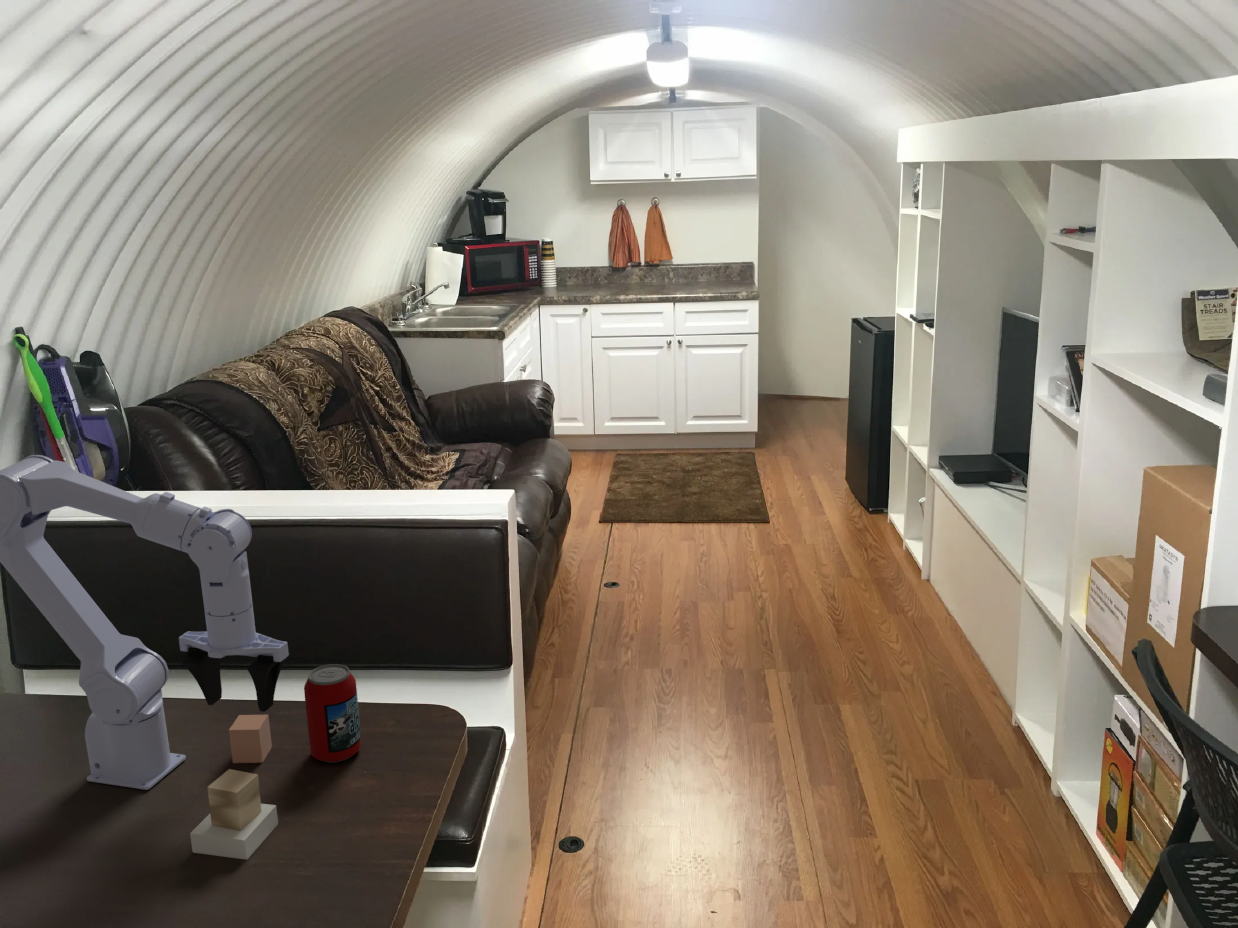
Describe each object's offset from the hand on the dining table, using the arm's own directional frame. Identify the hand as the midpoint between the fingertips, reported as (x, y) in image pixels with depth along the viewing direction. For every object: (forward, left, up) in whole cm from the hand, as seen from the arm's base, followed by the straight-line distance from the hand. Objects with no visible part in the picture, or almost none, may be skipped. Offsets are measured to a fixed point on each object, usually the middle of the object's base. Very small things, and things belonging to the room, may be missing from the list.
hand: (240, 704), depth 135 cm
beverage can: (+9, +7, -10) cm, 15 cm away
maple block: (+7, -13, -7) cm, 16 cm away
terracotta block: (-2, +4, -10) cm, 11 cm away
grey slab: (+7, -13, -10) cm, 18 cm away
